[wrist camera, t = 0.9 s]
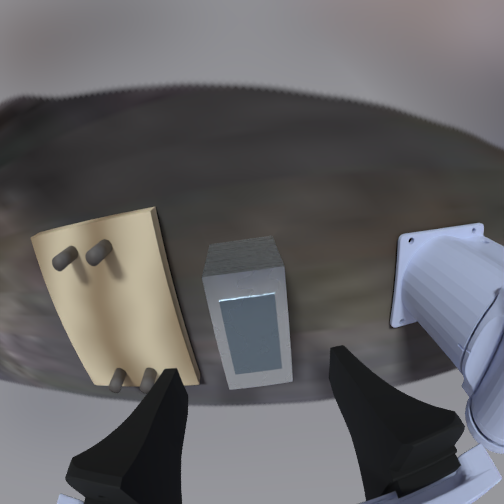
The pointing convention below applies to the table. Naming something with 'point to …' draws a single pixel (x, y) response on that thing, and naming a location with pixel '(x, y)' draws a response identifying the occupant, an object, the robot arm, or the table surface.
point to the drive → (249, 311)
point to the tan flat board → (117, 299)
